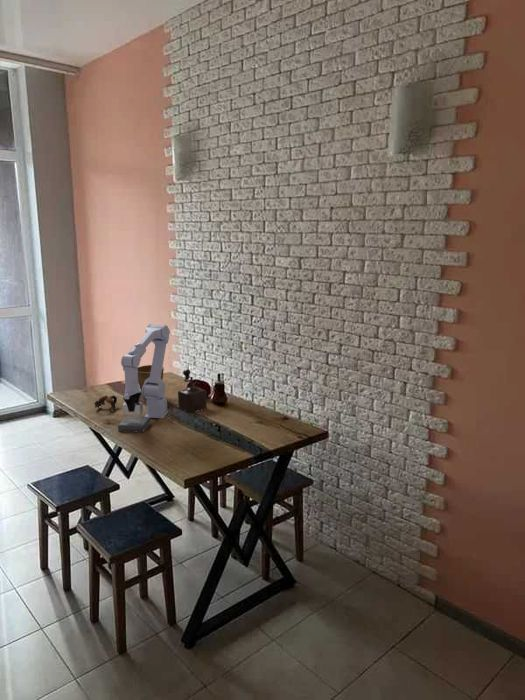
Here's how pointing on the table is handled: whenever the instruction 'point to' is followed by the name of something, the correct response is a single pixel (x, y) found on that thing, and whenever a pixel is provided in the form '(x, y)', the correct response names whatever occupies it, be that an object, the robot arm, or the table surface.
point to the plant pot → (145, 374)
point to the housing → (137, 409)
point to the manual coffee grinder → (191, 396)
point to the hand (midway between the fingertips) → (133, 409)
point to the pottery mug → (108, 399)
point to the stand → (134, 424)
